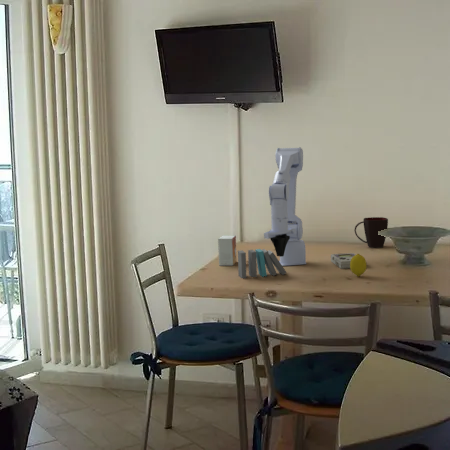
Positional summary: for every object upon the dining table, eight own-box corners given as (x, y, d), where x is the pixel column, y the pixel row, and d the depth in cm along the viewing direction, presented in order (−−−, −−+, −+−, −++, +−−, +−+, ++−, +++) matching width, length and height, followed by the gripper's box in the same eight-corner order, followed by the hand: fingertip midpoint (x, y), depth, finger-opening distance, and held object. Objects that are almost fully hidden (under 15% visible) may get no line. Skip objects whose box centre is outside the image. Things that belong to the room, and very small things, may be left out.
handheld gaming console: (341, 260, 248) (330, 253, 263) (341, 270, 249) (330, 262, 264) (365, 259, 249) (353, 251, 264) (365, 268, 250) (353, 260, 265)
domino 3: (273, 271, 246) (263, 248, 244) (276, 274, 241) (267, 251, 239) (269, 273, 246) (259, 250, 244) (272, 276, 241) (263, 253, 239)
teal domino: (263, 273, 245) (259, 248, 244) (266, 276, 240) (263, 251, 239) (258, 274, 245) (255, 249, 243) (262, 276, 240) (258, 252, 239)
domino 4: (282, 269, 247) (269, 249, 245) (286, 272, 242) (272, 252, 240) (279, 272, 247) (265, 252, 244) (283, 275, 242) (269, 255, 240)
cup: (390, 248, 286) (390, 220, 284) (356, 249, 286) (356, 221, 284) (384, 244, 296) (384, 216, 294) (352, 245, 296) (352, 218, 294)
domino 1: (242, 275, 244) (242, 250, 242) (246, 278, 239) (245, 252, 238) (238, 275, 243) (237, 250, 242) (241, 278, 239) (241, 253, 237)
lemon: (357, 279, 232) (356, 255, 231) (346, 276, 237) (346, 253, 236) (369, 277, 234) (369, 254, 233) (359, 274, 239) (359, 251, 238)
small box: (233, 265, 261) (232, 238, 259) (218, 265, 262) (217, 238, 261) (236, 261, 269) (236, 235, 267) (222, 261, 270) (222, 235, 268)
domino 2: (253, 274, 244) (252, 249, 243) (256, 277, 240) (256, 252, 238) (248, 274, 244) (248, 249, 243) (252, 277, 239) (251, 252, 238)
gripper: (284, 214, 249) (284, 251, 251) (257, 219, 239) (258, 257, 241) (299, 216, 244) (300, 253, 246) (272, 221, 234) (273, 260, 236)
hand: (280, 256), depth 243 cm, fingers closed
